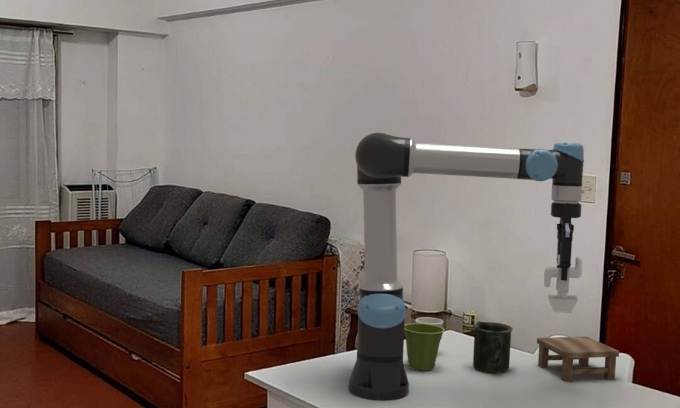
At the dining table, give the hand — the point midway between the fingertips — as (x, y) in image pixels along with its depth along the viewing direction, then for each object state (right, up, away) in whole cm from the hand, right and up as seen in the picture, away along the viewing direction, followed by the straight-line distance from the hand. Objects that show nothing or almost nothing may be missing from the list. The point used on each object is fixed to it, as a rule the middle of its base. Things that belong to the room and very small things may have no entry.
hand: (562, 291), depth 199 cm
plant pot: (-35, -23, +13) cm, 44 cm away
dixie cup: (-32, -22, +28) cm, 48 cm away
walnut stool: (+8, -24, +13) cm, 29 cm away
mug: (-16, -24, +13) cm, 31 cm away
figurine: (0, -5, 0) cm, 5 cm away
